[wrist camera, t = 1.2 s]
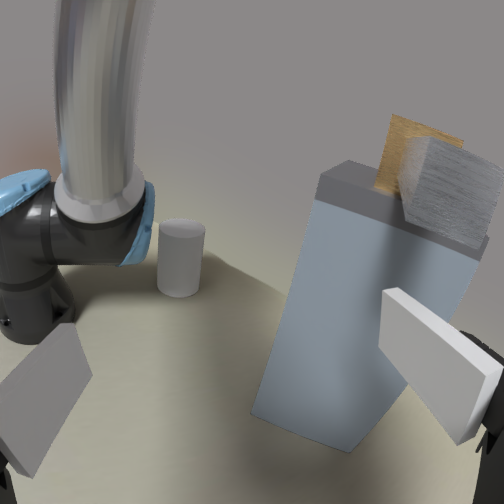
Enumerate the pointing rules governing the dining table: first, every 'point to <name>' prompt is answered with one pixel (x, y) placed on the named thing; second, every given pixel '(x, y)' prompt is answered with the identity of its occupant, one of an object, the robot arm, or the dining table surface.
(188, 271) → the white cylinder
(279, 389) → the block
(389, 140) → the block
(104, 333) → the dining table surface
